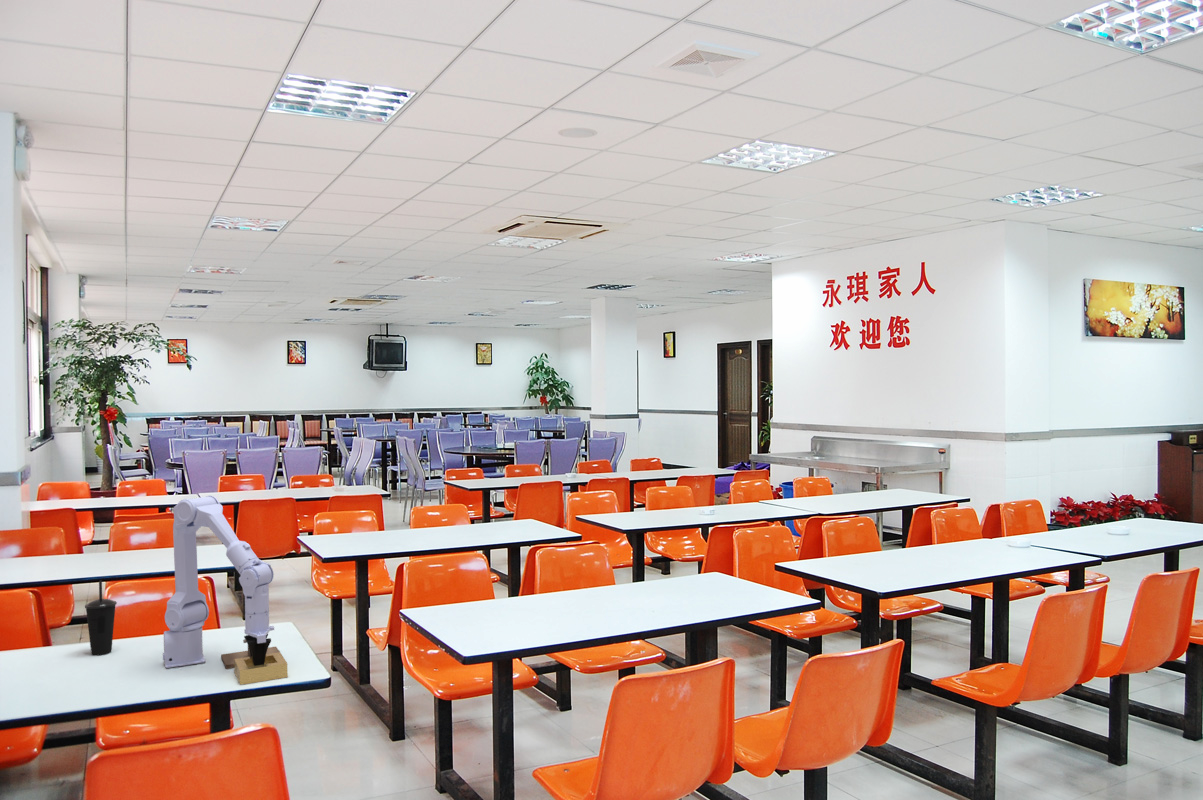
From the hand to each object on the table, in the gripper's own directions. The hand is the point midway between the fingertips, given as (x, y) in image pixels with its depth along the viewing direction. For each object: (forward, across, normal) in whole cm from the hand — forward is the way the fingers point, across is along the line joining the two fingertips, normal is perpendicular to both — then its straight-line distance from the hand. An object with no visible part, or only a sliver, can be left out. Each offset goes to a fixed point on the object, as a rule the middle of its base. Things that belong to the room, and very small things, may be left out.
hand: (257, 664), depth 222 cm
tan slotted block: (+1, -4, 0) cm, 5 cm away
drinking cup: (+2, +40, +35) cm, 53 cm away
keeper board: (+1, +11, 0) cm, 11 cm away
